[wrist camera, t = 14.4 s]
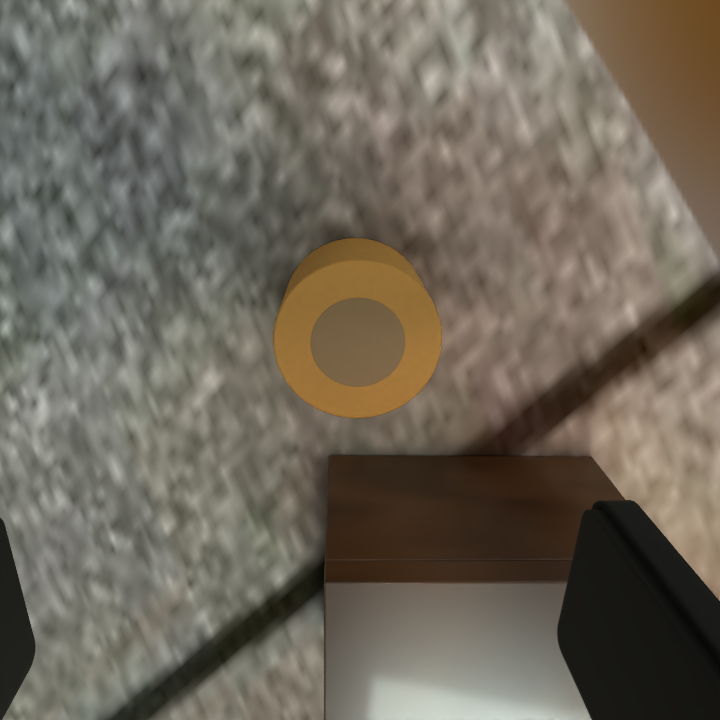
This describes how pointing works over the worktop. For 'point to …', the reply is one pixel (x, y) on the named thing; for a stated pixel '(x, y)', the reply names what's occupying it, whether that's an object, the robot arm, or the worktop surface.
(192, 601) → the worktop surface
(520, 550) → the brown square pedestal
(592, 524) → the robot arm
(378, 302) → the tape roll
